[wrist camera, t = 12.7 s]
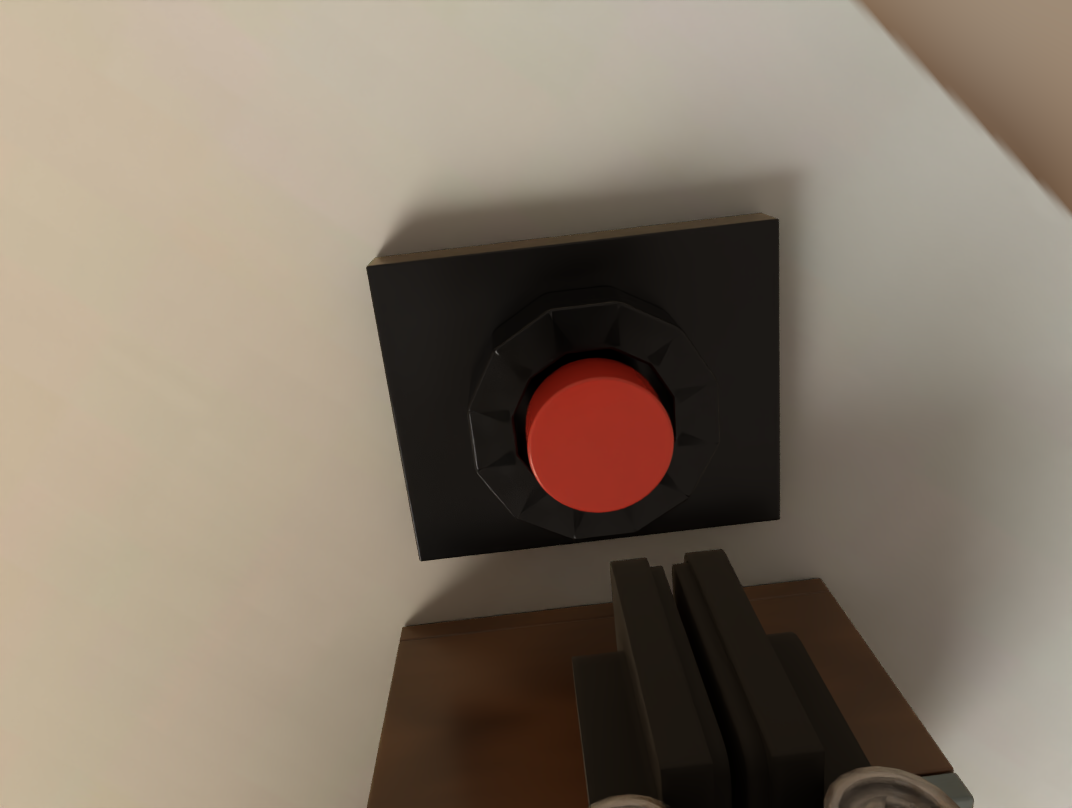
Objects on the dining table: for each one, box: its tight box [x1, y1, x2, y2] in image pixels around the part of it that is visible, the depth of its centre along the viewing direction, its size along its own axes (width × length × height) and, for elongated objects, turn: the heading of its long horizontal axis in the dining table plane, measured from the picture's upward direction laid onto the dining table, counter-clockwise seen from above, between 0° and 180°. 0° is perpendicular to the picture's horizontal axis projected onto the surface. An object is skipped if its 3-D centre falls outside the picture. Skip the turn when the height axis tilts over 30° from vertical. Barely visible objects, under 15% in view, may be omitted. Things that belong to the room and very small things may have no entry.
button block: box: [366, 213, 780, 561], centre depth 22 cm, size 11×9×4 cm
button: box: [526, 358, 674, 513], centre depth 20 cm, size 4×4×2 cm
